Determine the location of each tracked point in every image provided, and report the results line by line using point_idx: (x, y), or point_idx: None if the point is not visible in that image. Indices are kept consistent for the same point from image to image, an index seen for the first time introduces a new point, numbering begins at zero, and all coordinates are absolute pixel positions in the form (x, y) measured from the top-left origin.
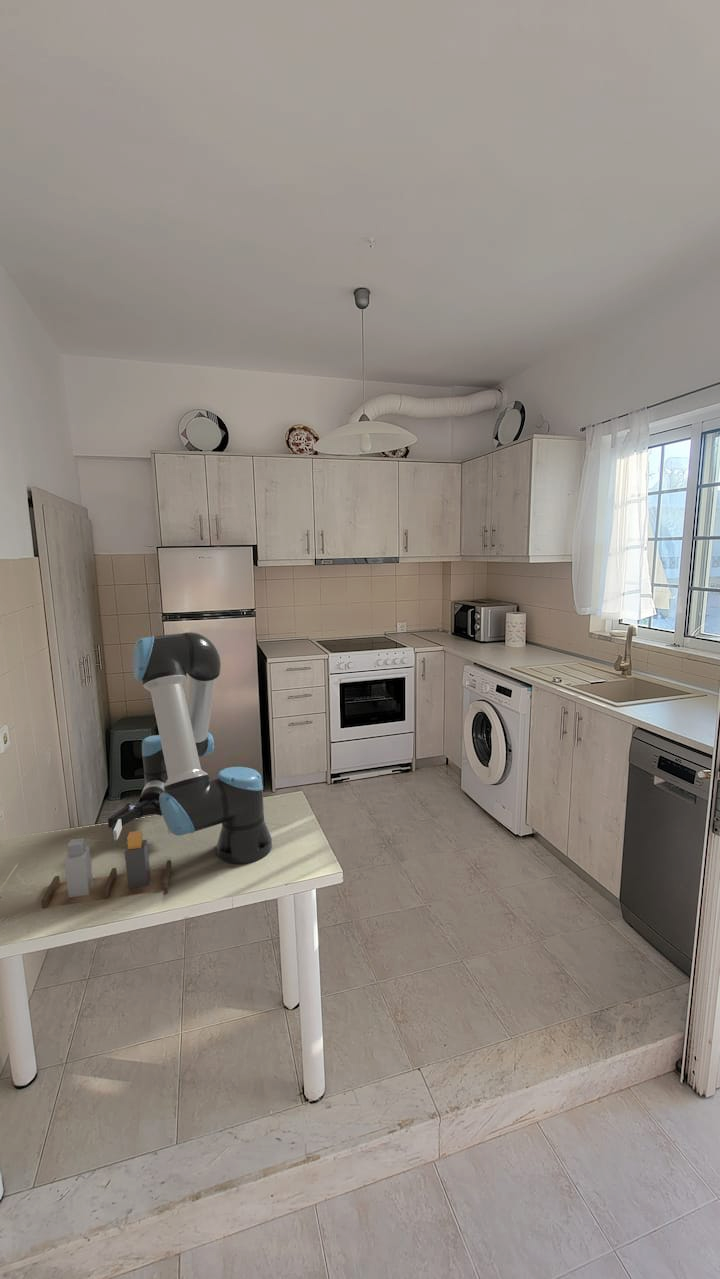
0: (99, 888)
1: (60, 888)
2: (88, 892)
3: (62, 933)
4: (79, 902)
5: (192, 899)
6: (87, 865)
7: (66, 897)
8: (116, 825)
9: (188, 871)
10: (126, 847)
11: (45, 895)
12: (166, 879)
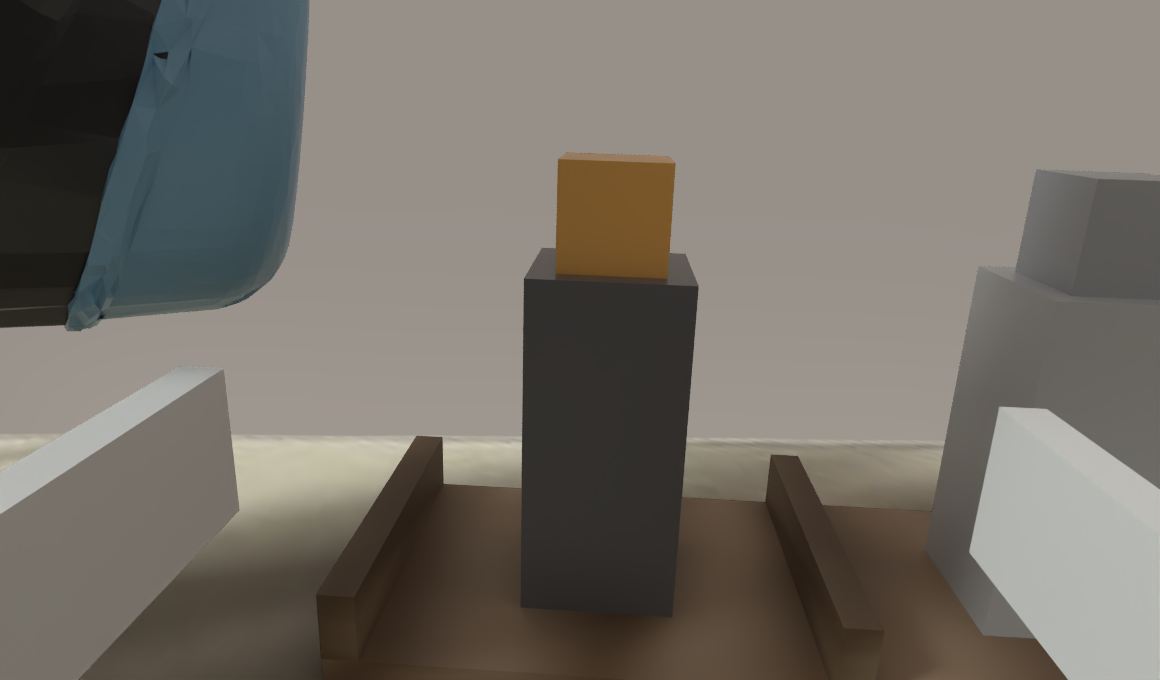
0: (887, 580)
1: None
2: (929, 533)
3: (889, 443)
4: None
5: (305, 459)
6: (980, 377)
7: None
8: (1147, 494)
9: (195, 656)
10: (686, 266)
11: None
12: (413, 447)
